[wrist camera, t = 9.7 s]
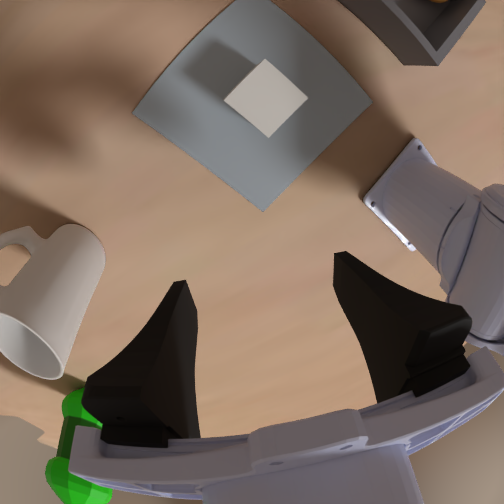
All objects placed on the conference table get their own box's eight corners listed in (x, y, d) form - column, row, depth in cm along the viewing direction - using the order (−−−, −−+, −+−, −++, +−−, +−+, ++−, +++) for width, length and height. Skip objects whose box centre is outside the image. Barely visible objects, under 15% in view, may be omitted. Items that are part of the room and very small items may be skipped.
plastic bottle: (59, 388, 36) (35, 510, 15) (80, 372, 33) (53, 523, 12) (104, 413, 40) (92, 529, 19) (132, 401, 38) (123, 540, 17)
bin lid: (368, 101, 19) (401, 107, 15) (261, 208, 23) (271, 236, 19) (250, -10, 13) (258, -33, 9) (135, 112, 18) (112, 118, 14)
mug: (122, 259, 24) (80, 368, 14) (83, 291, 25) (43, 386, 15) (51, 179, 19) (-38, 255, 9) (19, 222, 20) (-50, 301, 10)
